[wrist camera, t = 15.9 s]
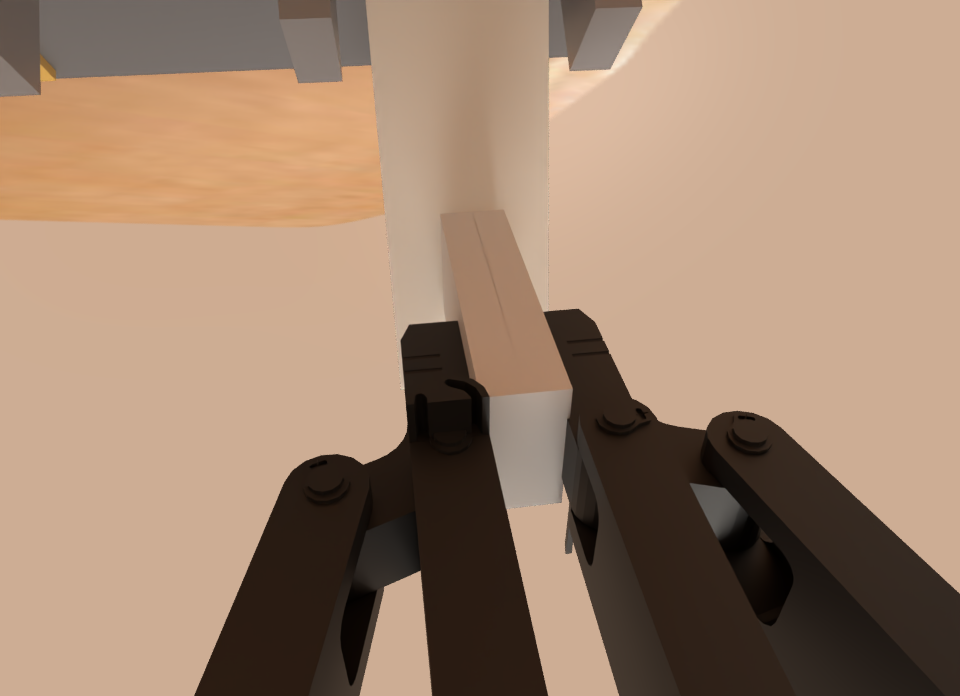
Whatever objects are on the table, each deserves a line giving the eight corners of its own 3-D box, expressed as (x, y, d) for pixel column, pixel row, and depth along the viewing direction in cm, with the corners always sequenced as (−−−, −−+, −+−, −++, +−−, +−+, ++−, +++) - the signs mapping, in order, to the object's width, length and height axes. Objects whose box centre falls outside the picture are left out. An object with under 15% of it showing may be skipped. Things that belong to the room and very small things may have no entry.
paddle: (347, -54, 16) (388, 366, 20) (344, -66, 14) (389, 390, 19) (545, -59, 16) (546, 352, 21) (562, -70, 15) (559, 374, 19)
